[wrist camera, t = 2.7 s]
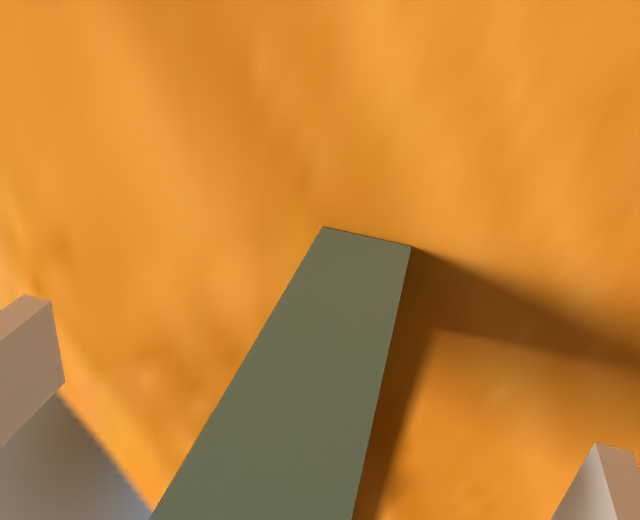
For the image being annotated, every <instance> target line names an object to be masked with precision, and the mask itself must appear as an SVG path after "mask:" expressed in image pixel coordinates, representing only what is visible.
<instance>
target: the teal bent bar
mask: <svg viewBox="0 0 640 520" xmlns="http://www.w3.org/2000/svg"><path fill="white" fill-rule="evenodd" d="M411 247H412V246H407V245H403V244H399V243H394V242H390V241H385V240H381V239H376V238H372V237H367V236H363V235H358V234H354V233H349V232H345V231H341V230H336V229H332V228H327V227H322V228H321V230H320V232H319V234H318V235H317V237H316V239H315V240H314V242H313V244H312V245H311V247H310V249H309V251H308V252H307V254H306V256H305V257H304V259H303V261H302V262H301V264H300V266H299V268H298V269H297V271H296V273H295V274H294V276H293V278H292V279H291V281H290V283H289V285H288V286H287V288H286V290H285V291H284V293H283V295H282V296H281V298H280V300H279V301H278V303H277V305H276V307H275V308H274V310H273V312H272V313H271V315H270V317H269V318H268V320H267V322H266V324H265V325H264V327H263V329H262V330H261V332H260V334H259V335H258V337H257V339H256V341H255V342H254V344H253V346H252V347H251V349H250V351H249V352H248V354H247V356H246V357H245V359H244V361H243V363H242V364H241V366H240V368H239V369H238V371H237V373H236V374H235V376H234V378H233V380H232V381H231V383H230V385H229V386H228V388H227V390H226V391H225V393H224V395H223V397H222V398H221V400H220V402H219V403H218V405H217V407H216V408H215V410H214V412H213V414H212V415H211V417H210V419H209V420H208V422H207V424H206V425H205V427H204V429H203V430H202V432H201V434H200V436H199V437H198V439H197V441H196V442H195V444H194V446H193V447H192V449H191V451H190V453H189V454H188V456H187V458H186V459H185V461H184V463H183V464H182V466H181V468H180V470H179V471H178V473H177V475H176V476H175V478H174V480H173V481H172V483H171V485H170V486H169V488H168V490H167V492H166V493H165V495H164V497H163V498H162V500H161V502H160V503H159V505H158V507H157V509H156V510H155V512H154V514H153V515H152V517H151V519H150V520H351V519H352V515H353V510H354V505H355V501H356V496H357V492H358V487H359V483H360V478H361V474H362V469H363V465H364V460H365V456H366V451H367V447H368V442H369V437H370V433H371V428H372V424H373V419H374V415H375V410H376V406H377V401H378V397H379V392H380V388H381V383H382V379H383V374H384V369H385V365H386V360H387V356H388V351H389V347H390V342H391V338H392V333H393V329H394V324H395V320H396V315H397V311H398V306H399V301H400V297H401V292H402V288H403V283H404V279H405V274H406V270H407V265H408V261H409V256H410V252H411Z"/></svg>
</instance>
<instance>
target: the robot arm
mask: <svg viewBox="0 0 640 520" xmlns="http://www.w3.org/2000/svg"><path fill="white" fill-rule="evenodd" d="M64 383H65V378H64V372H63V366H62V361H61V355H60V350H59V344H58V338H57V333H56V327H55V321H54V316H53V310H52V304H51V301H48V300H45V299H41V298H37V297H33V296H29V295H25V294H24V295H22V296H21V297H19V298H18V299H17V300H15V301H14V302H13V303H11V304H10V305H8V306H7V307H6V308H4V309H3V310H2V311H0V448H1V447H2V446H3V445H4V444H5V443H6V442H7V441H8V440H9V439H10V438H11V437H12V436H13V435H14V434H15V433H16V432H17V431H18V430H19V429H20V428H21V426H23V424H25V423H26V422H27V420H28V419H29V418H30V417H31V416H32V415H33V414H34V413H35V412H36V411H37V410H38V409H39V408H40V407H41V406H42V405H43V404H44V403H45V402H46V401H47V400H48V399H49V398H50V397H51V396H52V395H53V394H54V393H55V392H56V391H57V390H58V389H59V388H60V387H61V386H62V385H63V384H64ZM551 520H640V470H639V468H638V465H637V462H636V459H635V457H634V454H633V452H631V451H627V450H624V449H620V448H616V447H612V446H608V445H604V444H600V443H597V442H595V443H594V445H593V447H592V449H591V450H590V452H589V454H588V456H587V457H586V459H585V461H584V463H583V464H582V466H581V468H580V470H579V471H578V473H577V475H576V477H575V478H574V480H573V482H572V484H571V485H570V487H569V489H568V491H567V492H566V494H565V496H564V498H563V499H562V501H561V503H560V505H559V506H558V508H557V510H556V512H555V513H554V515H553V517H552V519H551Z"/></svg>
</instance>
